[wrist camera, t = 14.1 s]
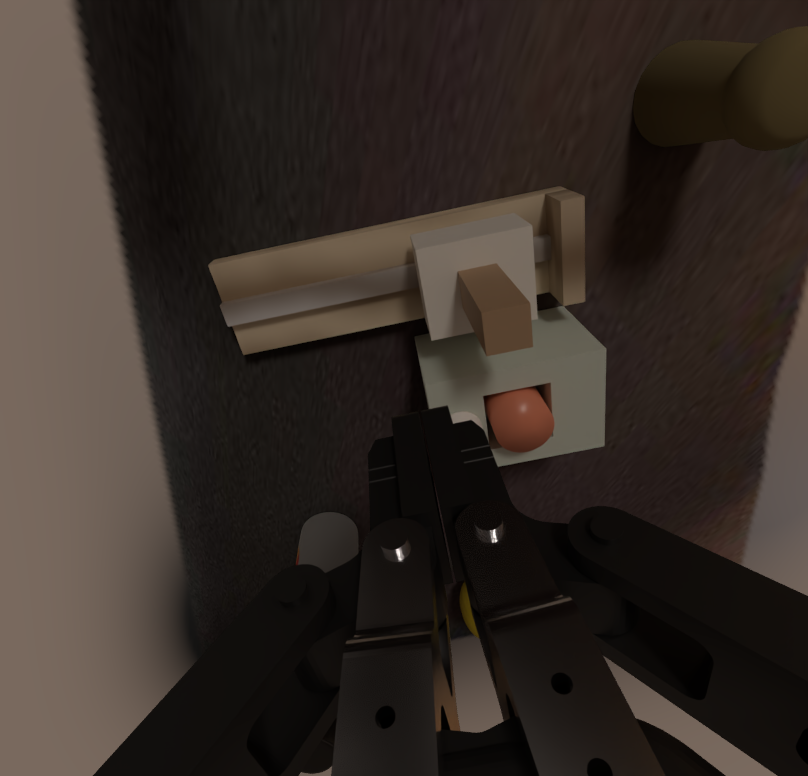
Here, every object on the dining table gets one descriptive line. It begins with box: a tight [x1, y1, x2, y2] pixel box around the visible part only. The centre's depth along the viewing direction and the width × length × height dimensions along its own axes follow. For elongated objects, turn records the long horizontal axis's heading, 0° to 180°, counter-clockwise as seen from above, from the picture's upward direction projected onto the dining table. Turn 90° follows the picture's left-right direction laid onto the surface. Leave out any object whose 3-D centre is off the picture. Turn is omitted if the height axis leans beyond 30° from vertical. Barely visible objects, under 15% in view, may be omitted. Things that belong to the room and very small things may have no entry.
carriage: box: [410, 213, 538, 356], centre depth 29 cm, size 6×7×11 cm
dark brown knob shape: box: [633, 26, 808, 151], centre depth 27 cm, size 6×6×11 cm
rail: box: [208, 186, 585, 355], centre depth 35 cm, size 7×25×4 cm, turn 101°
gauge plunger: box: [483, 386, 554, 453], centre depth 35 cm, size 4×4×6 cm
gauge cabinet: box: [414, 306, 606, 467], centre depth 37 cm, size 8×12×8 cm, turn 101°
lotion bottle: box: [296, 512, 358, 774], centre depth 40 cm, size 6×6×20 cm
